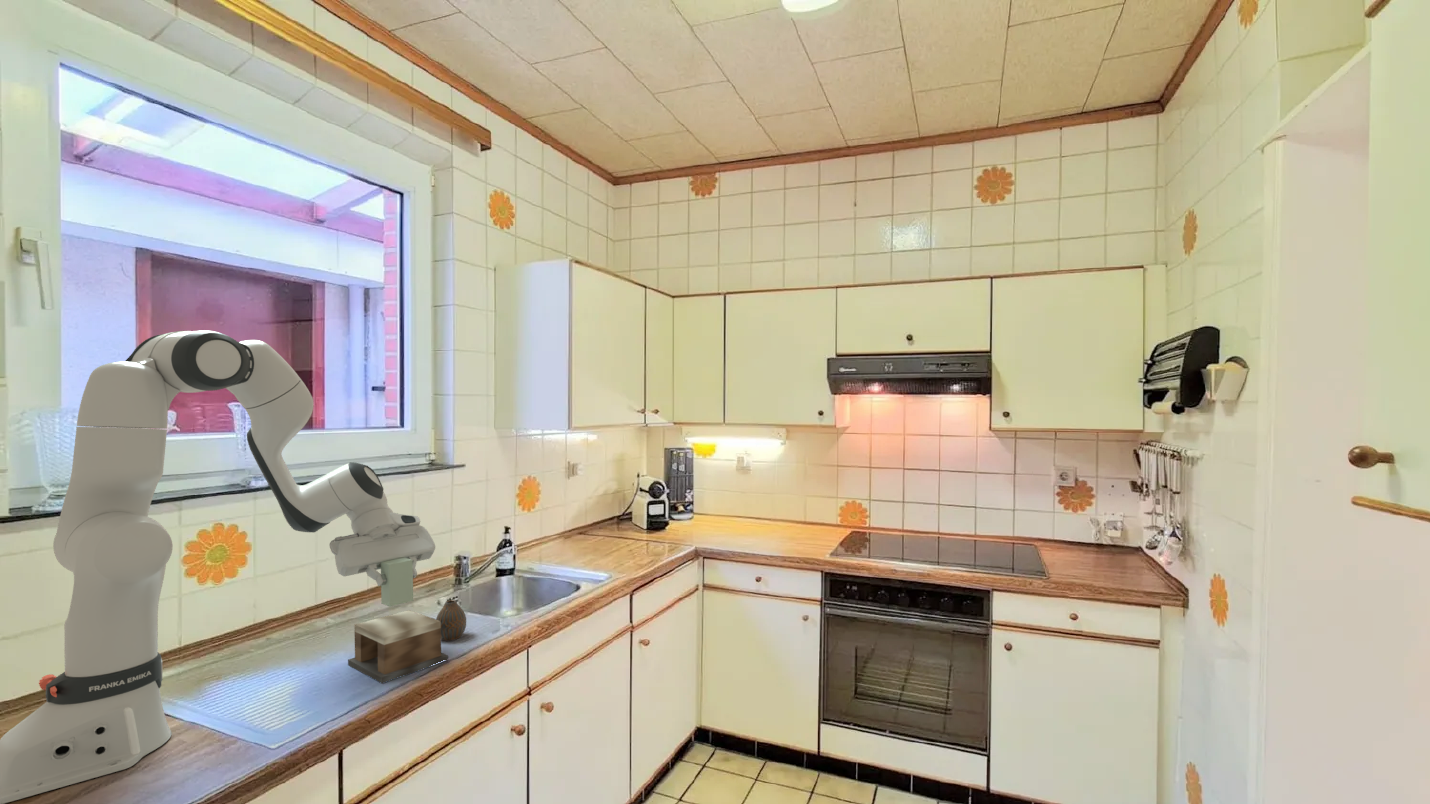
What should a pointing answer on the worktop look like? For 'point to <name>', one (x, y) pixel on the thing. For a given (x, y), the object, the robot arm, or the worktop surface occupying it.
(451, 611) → the vase
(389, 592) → the block
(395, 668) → the bridge
